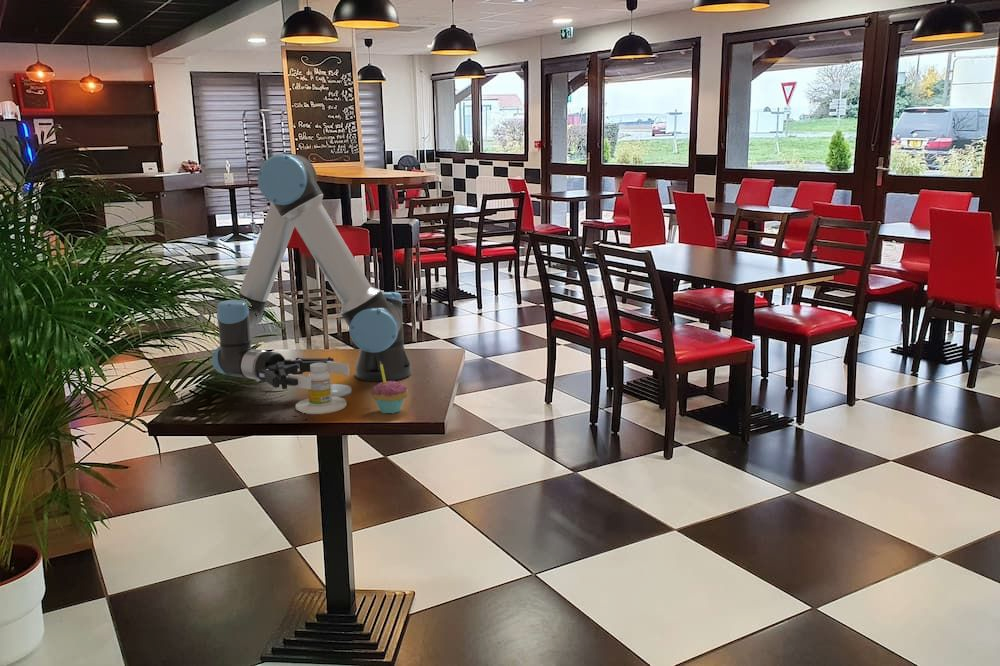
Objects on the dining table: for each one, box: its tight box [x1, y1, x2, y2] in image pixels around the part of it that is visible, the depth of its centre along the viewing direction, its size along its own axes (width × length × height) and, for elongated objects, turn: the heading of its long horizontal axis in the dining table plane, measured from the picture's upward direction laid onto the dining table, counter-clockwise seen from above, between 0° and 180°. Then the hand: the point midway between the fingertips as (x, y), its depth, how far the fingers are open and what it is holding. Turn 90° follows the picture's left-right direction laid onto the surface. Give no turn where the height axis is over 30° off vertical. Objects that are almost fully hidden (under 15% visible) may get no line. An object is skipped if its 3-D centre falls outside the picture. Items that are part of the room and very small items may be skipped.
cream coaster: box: [295, 396, 347, 415], centre depth 196 cm, size 12×12×1 cm
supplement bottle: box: [307, 362, 332, 406], centre depth 195 cm, size 5×5×10 cm
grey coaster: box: [331, 383, 352, 398], centre depth 207 cm, size 10×10×1 cm
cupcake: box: [370, 362, 409, 414], centre depth 191 cm, size 9×8×12 cm
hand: (329, 376), depth 193 cm, fingers open, 13 cm apart
